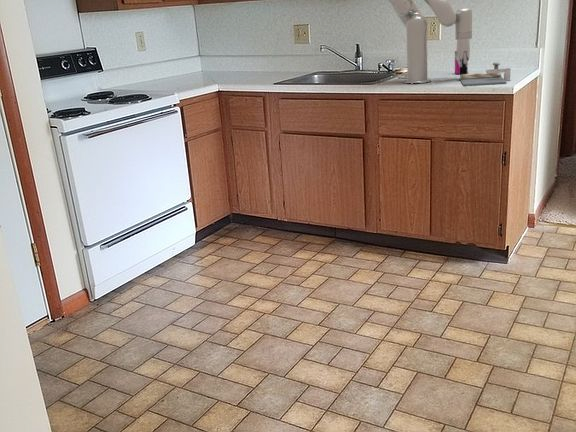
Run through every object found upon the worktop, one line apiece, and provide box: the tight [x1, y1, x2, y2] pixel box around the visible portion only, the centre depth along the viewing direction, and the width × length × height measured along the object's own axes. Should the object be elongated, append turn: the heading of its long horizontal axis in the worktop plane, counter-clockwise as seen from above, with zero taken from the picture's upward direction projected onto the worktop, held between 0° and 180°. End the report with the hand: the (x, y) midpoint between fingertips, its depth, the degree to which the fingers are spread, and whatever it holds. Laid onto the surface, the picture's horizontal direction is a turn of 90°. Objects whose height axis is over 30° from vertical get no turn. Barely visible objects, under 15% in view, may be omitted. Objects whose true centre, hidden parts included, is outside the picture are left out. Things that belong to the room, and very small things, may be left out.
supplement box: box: [454, 50, 469, 76], centre depth 314 cm, size 6×6×12 cm
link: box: [459, 62, 502, 79], centre depth 289 cm, size 18×4×6 cm, turn 79°
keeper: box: [485, 67, 511, 82], centre depth 282 cm, size 10×2×5 cm, turn 79°
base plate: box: [459, 76, 507, 87], centre depth 284 cm, size 18×20×1 cm
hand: (463, 75), depth 296 cm, fingers closed
